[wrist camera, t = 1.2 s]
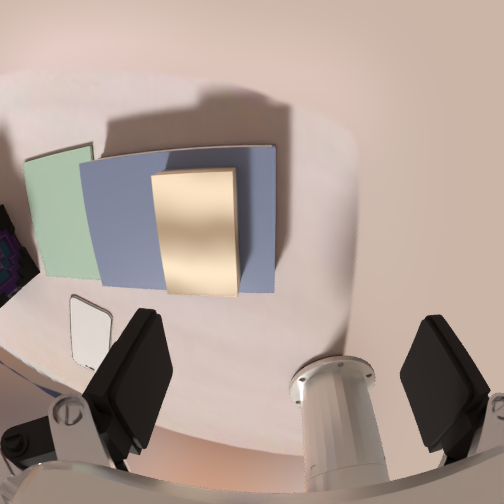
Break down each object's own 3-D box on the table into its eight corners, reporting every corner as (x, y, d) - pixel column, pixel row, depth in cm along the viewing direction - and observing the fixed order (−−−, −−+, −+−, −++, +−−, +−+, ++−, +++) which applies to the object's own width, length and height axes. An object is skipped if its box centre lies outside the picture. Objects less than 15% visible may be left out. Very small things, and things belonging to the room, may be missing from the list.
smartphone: (112, 315, 34) (108, 379, 39) (116, 311, 35) (111, 374, 41) (69, 294, 33) (72, 360, 39) (73, 290, 34) (75, 356, 40)
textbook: (273, 272, 30) (274, 293, 26) (118, 268, 31) (102, 285, 27) (274, 144, 25) (275, 147, 21) (100, 157, 26) (78, 163, 22)
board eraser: (241, 278, 26) (237, 296, 23) (177, 276, 26) (167, 294, 23) (237, 165, 22) (232, 171, 19) (165, 169, 22) (151, 175, 19)
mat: (114, 279, 32) (113, 281, 31) (48, 274, 32) (47, 276, 32) (91, 145, 25) (89, 145, 25) (24, 162, 26) (22, 163, 26)
